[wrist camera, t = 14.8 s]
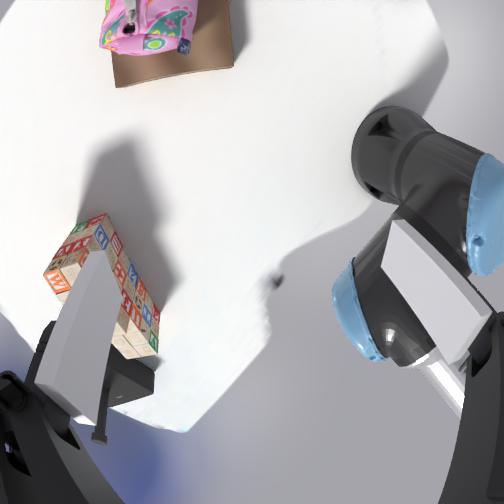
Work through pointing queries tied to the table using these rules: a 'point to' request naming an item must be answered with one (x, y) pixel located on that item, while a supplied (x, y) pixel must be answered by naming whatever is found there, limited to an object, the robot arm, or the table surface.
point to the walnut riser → (173, 63)
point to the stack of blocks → (131, 287)
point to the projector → (121, 387)
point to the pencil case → (148, 26)
